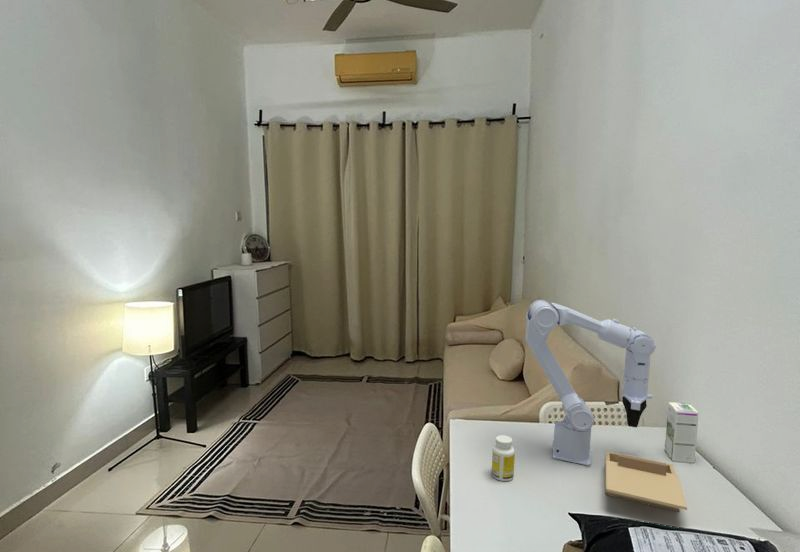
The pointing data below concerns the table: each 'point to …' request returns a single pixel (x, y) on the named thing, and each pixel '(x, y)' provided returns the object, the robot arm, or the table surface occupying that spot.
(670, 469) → the box
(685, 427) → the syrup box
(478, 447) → the table surface
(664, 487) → the lid
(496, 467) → the supplement bottle
